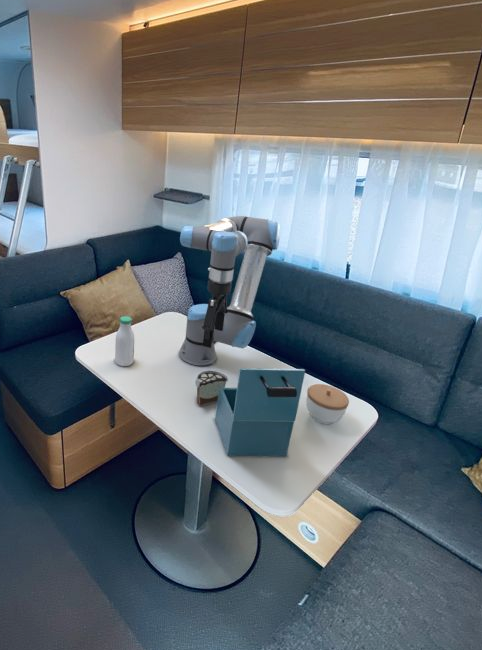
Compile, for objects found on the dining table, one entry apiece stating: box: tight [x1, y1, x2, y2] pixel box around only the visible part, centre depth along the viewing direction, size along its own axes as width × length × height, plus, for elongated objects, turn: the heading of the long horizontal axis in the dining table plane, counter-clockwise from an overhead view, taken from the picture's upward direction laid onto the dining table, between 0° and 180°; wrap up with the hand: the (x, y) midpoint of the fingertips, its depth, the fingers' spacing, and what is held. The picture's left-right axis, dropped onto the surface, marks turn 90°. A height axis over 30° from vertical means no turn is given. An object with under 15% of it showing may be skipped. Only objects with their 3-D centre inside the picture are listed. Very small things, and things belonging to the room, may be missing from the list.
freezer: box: [214, 387, 295, 457], centre depth 128 cm, size 16×18×13 cm
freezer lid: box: [233, 367, 306, 422], centre depth 112 cm, size 17×18×9 cm
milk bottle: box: [114, 315, 135, 367], centre depth 166 cm, size 8×8×20 cm
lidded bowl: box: [305, 383, 350, 425], centre depth 139 cm, size 13×13×11 cm
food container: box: [194, 370, 229, 407], centre depth 147 cm, size 12×6×10 cm, turn 111°
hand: (213, 337), depth 139 cm, fingers open, 13 cm apart
